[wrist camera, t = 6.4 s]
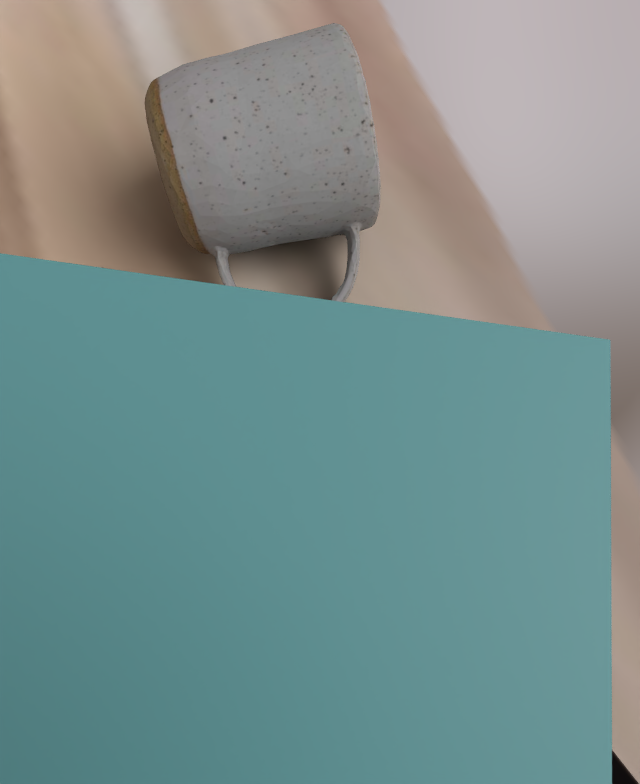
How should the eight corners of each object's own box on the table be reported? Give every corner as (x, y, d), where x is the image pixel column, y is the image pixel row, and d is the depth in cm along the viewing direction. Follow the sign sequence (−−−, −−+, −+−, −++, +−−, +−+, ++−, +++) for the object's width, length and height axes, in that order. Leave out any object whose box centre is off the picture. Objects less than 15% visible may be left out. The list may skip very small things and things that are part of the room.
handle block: (363, 722, 14) (616, 1510, 2) (185, 690, 15) (-556, 1216, 2) (385, 537, 16) (610, 340, 3) (223, 511, 16) (-101, 239, 4)
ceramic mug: (171, 162, 28) (120, 16, 21) (334, 127, 29) (339, -26, 22) (215, 360, 25) (173, 269, 18) (397, 315, 26) (428, 211, 18)
